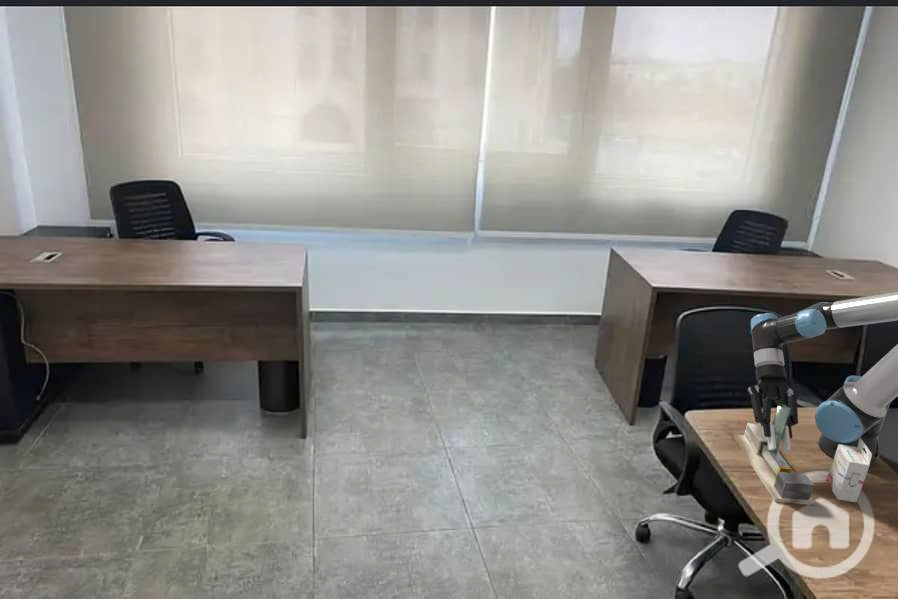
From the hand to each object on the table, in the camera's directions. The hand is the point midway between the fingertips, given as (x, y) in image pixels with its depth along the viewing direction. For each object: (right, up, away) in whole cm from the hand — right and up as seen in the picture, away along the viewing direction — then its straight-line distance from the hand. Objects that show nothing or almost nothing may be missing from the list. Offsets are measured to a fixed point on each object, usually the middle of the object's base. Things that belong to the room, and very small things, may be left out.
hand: (779, 449), depth 172 cm
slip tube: (0, -3, +6) cm, 7 cm away
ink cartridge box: (+14, -10, -3) cm, 18 cm away
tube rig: (0, -6, +4) cm, 7 cm away
